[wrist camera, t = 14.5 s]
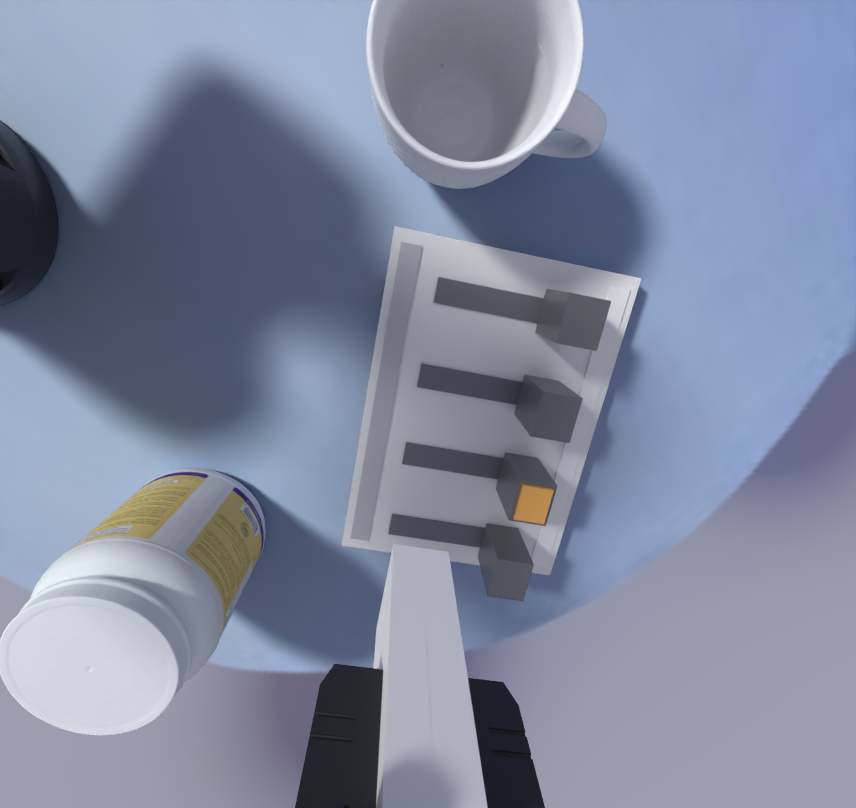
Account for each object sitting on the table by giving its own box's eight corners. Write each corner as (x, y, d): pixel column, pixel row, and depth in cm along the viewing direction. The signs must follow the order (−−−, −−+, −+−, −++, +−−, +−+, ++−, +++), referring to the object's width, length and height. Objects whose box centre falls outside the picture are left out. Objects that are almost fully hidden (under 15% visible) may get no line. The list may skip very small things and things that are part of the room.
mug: (591, 85, 36) (691, -13, 23) (542, 234, 38) (609, 219, 26) (399, 18, 34) (396, -128, 21) (363, 179, 37) (341, 134, 24)
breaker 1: (535, 332, 38) (555, 343, 33) (546, 288, 37) (569, 292, 32) (570, 339, 38) (596, 351, 33) (582, 296, 38) (611, 300, 32)
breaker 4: (477, 556, 44) (487, 596, 38) (486, 523, 43) (497, 559, 38) (508, 560, 44) (523, 601, 39) (518, 527, 43) (533, 564, 38)
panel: (344, 533, 45) (341, 546, 43) (395, 228, 38) (394, 225, 36) (544, 563, 47) (550, 576, 45) (630, 277, 40) (642, 278, 38)
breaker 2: (514, 414, 40) (530, 436, 35) (524, 374, 39) (542, 391, 34) (548, 420, 40) (569, 443, 35) (559, 380, 39) (582, 398, 34)
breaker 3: (495, 488, 42) (509, 522, 36) (504, 452, 41) (520, 481, 35) (528, 493, 42) (546, 528, 37) (538, 457, 41) (558, 487, 36)
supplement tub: (119, 551, 45) (-43, 713, 28) (158, 441, 42) (3, 551, 26) (244, 595, 47) (159, 770, 30) (289, 493, 44) (222, 626, 28)
